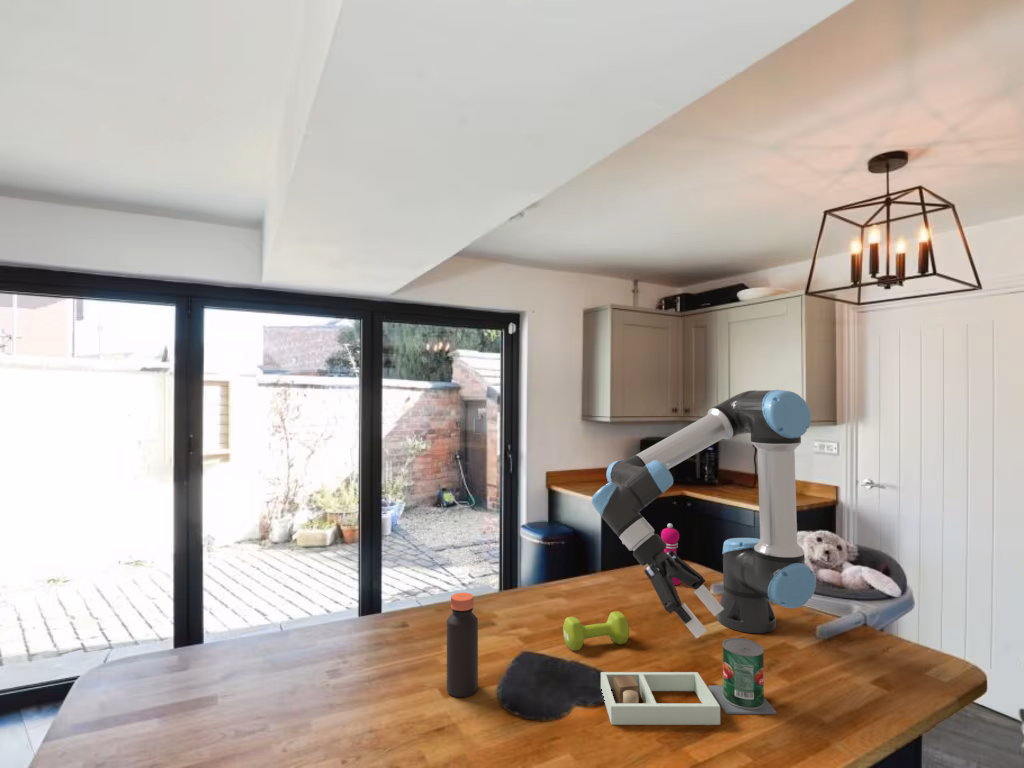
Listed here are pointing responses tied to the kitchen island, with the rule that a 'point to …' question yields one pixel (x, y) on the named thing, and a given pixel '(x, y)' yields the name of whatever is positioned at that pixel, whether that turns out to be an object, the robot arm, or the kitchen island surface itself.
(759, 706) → the canned tomato
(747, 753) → the kitchen island surface
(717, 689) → the slate coaster
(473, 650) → the bottle
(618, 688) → the walnut block
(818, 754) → the kitchen island surface
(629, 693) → the beech dowel
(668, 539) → the pepper mill
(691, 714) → the caddy
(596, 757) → the kitchen island surface
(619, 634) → the dumbbell
